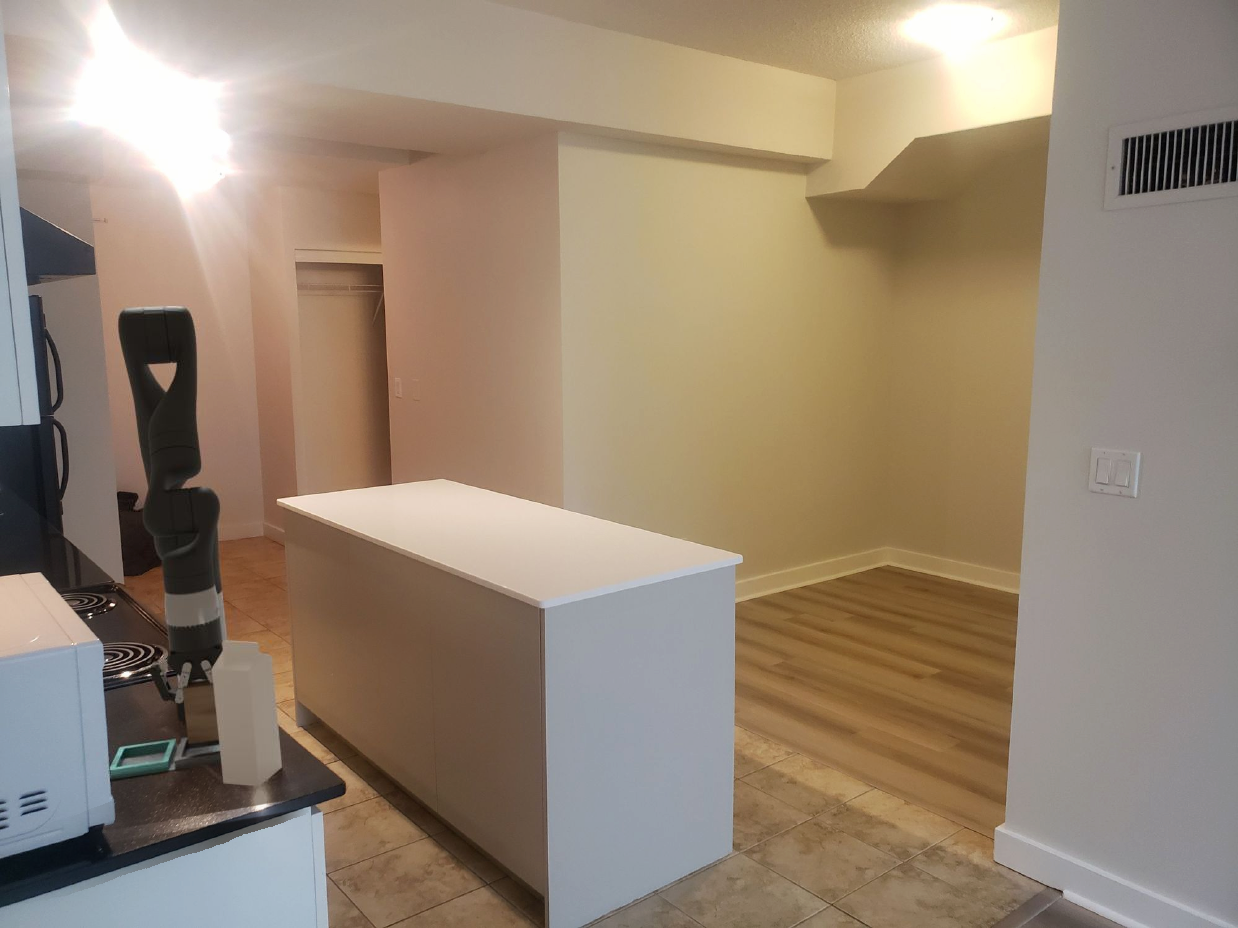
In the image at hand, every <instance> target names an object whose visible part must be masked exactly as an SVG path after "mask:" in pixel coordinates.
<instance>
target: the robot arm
mask: <svg viewBox="0 0 1238 928" xmlns="http://www.w3.org/2000/svg"><path fill="white" fill-rule="evenodd" d="M117 328H118V336H119V337H118V338H119V342H120V347H121V352H122V356H123V359H124V363H125V368H126V373H127V376H128V381H129V384H130V390H131V393H132V399H133V404H134V412H135V420H136V427H137V436H138V443H139V448H140V449H139V450H140V454H141V459H142V464H143V468H144V474H145V478H146V483H147V491H146V496H145V498H144V503H143V508H142V509H143V510H142V524H143V526H144V528H145V529H146V530H147V532H148V533H149V534H150V535H151V536H153V542H154V548H155V551H156V554H157V556H158V557H159V560H161V568H162V579H163V588H164V619H165V623H166V630H167V639H168V640H167V641H168V648H169V649H168V650H169V653H168V656H167V658H166V659H163V660H161V661H157V660H154V661H153V662H152V664H150V667H149V669H148V672H149V674H150V677H151V678H152V680H153V682H154V685H155V687H156V689H157V691H158V693H159V695H160V698H161V699H162V701H163V702H168V701H171V702H172V701H173V702H175V704H176V709H177V710H176V711H177V720H178V721H179V722H182V724H183V726H185V725H186V716H185V707H184V698H183V688H184V687H187V685H188V682H191V681H195V680H198V679H202V680H207V679H209V681H210V683H211V684H213V676H212V668H213V666H214V664H215V663H216V661H217V659H218V658H219V656H220V655H221V653H222V651H223V646H222V642H223V641H228V634H227V625H226V614H225V605H224V598H223V585H222V577H221V569H220V558H219V557H220V556H219V555H220V554H219V552H220V551H219V532H218V530H219V529H218V528H219V527H218V524H219V519H220V513H221V503H220V498H219V497H218V495H217V493H216V492H215V491H214V490H213V489H212V488H210V487H209V486H194V487H193V486H192V487H184V488H183V486H185V484H186V482H187V481H188V480H190V479H192V478H195V477H196V476H197V475H199V474H200V472H201V469H202V457H201V456H202V455H201V447H200V440H199V432H198V423H197V401H198V400H197V396H198V395H197V394H198V354H197V353H198V349H197V335H196V329H195V328H196V327H195V324H194V318H193V317H192V314H191V312H190V310H189V309H188V308H186V307H184V306H180V305H179V306H177V305H168V306H167V305H165V306H164V305H163V306H161V305H160V306H159V305H158V306H143V307H142V306H138V307H127V308H124V309H123V310H122V311H120V313H119V315H118V319H117ZM171 363H172V364H176V366H175V373H174V377H173V379H172V382H171V383H170V386H169V387H168V389H167V390H165V389H164V388H163V386H162V385H161V384H160V383H159V381H157V379H156V377H155V376H154V375H155V374H154V373H153V372H152V370H151V369H150V365H163V364H165V365H166V364H171ZM168 667H169V668H170V669H171V670H173V671H174V672H175V674H177V682H178V685H177V689H173V687H172V685H171V684H170V681H169V679H168V677H167V672H168Z"/></svg>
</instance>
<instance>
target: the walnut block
mask: <svg viewBox="0 0 1238 928" xmlns="http://www.w3.org/2000/svg"><path fill="white" fill-rule="evenodd" d="M183 698H184V707H185V716H186V734H187V737H188V744H192V743H198V742H205V741H212V740H219V735H218V725H217V715H216V705H215V696H214V686H213V684H211V683H210V681H209V679H207V680H202V679H198V680H195V681H191V682H188V685H187V687H184V688H183Z"/></svg>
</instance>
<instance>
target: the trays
mask: <svg viewBox="0 0 1238 928" xmlns="http://www.w3.org/2000/svg"><path fill="white" fill-rule="evenodd" d="M214 764H221V754H220V744H219V740H212V741H205V742H198V743H192V744H188V736H187V737H182V738H181V740H180V743H179V744H177V739H176V738H173V739H167V740H161V741H152V742H146V743H139V744H132V745H126V746H125V745H124V746H120V747H119V748H118V750H117V752H116V754H115V756H114V759H113V760H112V762H111V765H110V767H109V768H110V770H111V780H116V779H125V778H127V777H128V778H129V777H136V776H141V775H142V776H143V775H148V774H149V775H150V774H155V773H162V772H168V771H175V770H182V769H188V768H193V767H194V768H195V767H201V766H206V765H214Z"/></svg>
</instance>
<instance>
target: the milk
mask: <svg viewBox="0 0 1238 928" xmlns="http://www.w3.org/2000/svg"><path fill="white" fill-rule="evenodd" d="M222 646H223V651H222V653H221V655H220V656H219V658H218V659H217V661H216V663H215V664H214V666H213V668H212V676H213V686H214V696H215V705H216V715H217V725H218V735H219V744H220V754H221V763H220V764H221V773H222V783H223V784H229V785H238V786H239V785H240V786H251V787H261V786H262V785H263V784H264V783H265V782H267V781H268V780H269V779H270V778H271V777H273V775H276V773H277V772H278V771H280V770H281V768H282V767H283V766H282V765H283V764H282V755H281V754H282V753H281V743H280V733H279V722H278V711H277V700H276V699H277V698H276V690H275V688H276V687H275V678H274V667H273V666H274V665H273V656H272V655H269V654H265V653H263V652H260V645H259V643H258V642H256V641H241V640H240V641H239V640H238V641H237V640H227V641H223V642H222Z"/></svg>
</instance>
